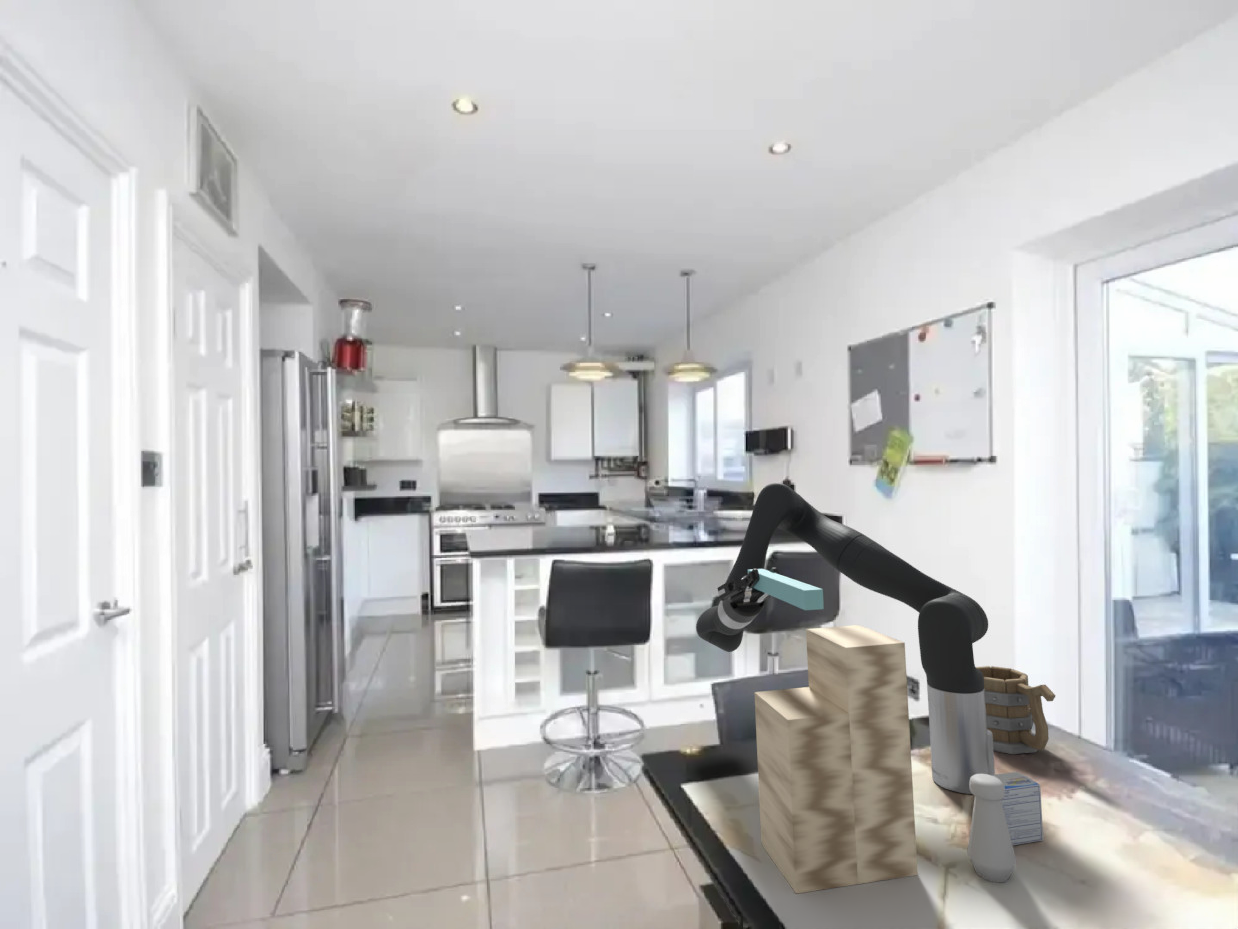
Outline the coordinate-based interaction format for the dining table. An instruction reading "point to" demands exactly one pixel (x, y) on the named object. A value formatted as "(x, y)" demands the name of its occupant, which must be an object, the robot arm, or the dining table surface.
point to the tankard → (1014, 710)
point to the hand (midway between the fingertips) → (766, 573)
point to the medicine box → (1022, 807)
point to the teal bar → (790, 590)
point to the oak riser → (839, 764)
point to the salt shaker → (990, 830)
